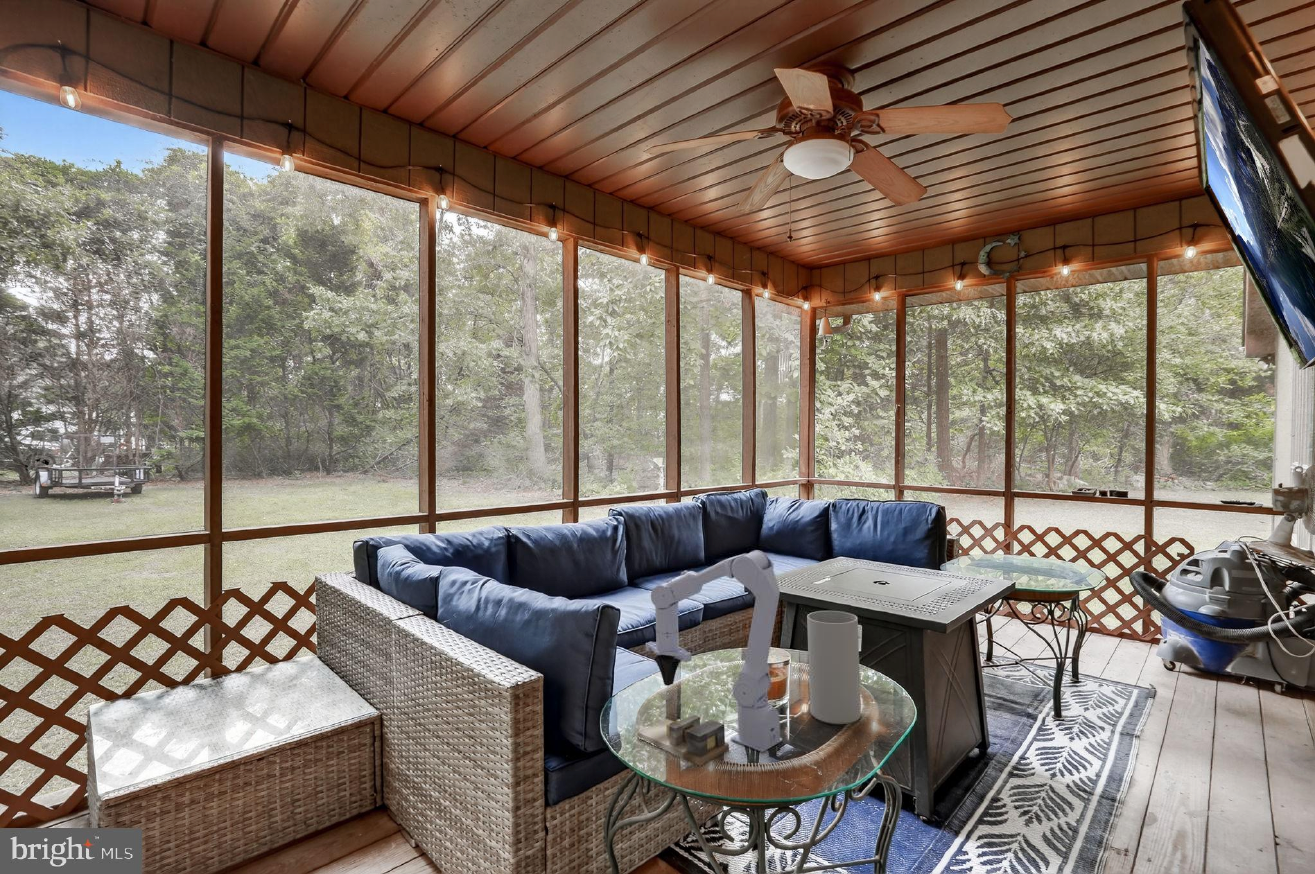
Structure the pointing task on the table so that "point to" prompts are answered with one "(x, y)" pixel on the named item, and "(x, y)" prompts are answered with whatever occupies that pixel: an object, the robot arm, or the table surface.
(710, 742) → the yellow sliding bolt
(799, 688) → the table surface
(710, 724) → the latch board
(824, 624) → the cylinder vase
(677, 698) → the table surface
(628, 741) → the table surface
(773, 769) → the table surface
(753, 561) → the robot arm
